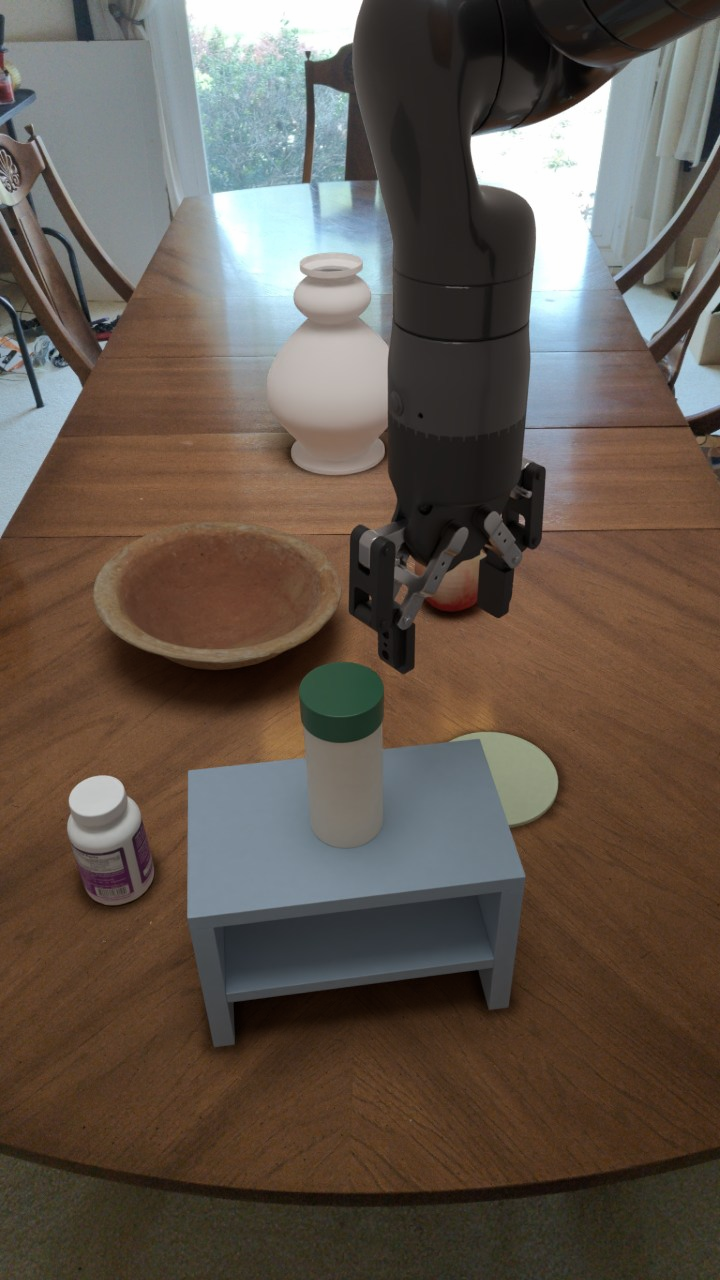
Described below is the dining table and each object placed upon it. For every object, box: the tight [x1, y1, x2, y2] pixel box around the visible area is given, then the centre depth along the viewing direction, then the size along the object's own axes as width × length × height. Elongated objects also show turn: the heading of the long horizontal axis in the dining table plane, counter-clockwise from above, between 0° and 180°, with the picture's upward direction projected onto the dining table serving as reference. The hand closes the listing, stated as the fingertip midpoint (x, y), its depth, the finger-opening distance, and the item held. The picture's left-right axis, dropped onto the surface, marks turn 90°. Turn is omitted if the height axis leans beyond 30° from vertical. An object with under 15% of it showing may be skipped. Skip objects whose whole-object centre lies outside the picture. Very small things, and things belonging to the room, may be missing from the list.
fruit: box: [414, 551, 486, 613], centre depth 102 cm, size 8×8×8 cm
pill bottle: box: [66, 774, 155, 906], centre depth 73 cm, size 5×5×10 cm
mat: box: [448, 731, 559, 829], centre depth 84 cm, size 11×11×1 cm
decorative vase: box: [265, 252, 389, 476], centre depth 124 cm, size 18×18×25 cm
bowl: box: [92, 521, 343, 671], centre depth 97 cm, size 24×24×8 cm
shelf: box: [186, 739, 527, 1048], centre depth 66 cm, size 12×20×14 cm, turn 98°
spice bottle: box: [298, 661, 385, 848], centre depth 59 cm, size 5×5×11 cm
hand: (447, 637), depth 63 cm, fingers open, 8 cm apart
